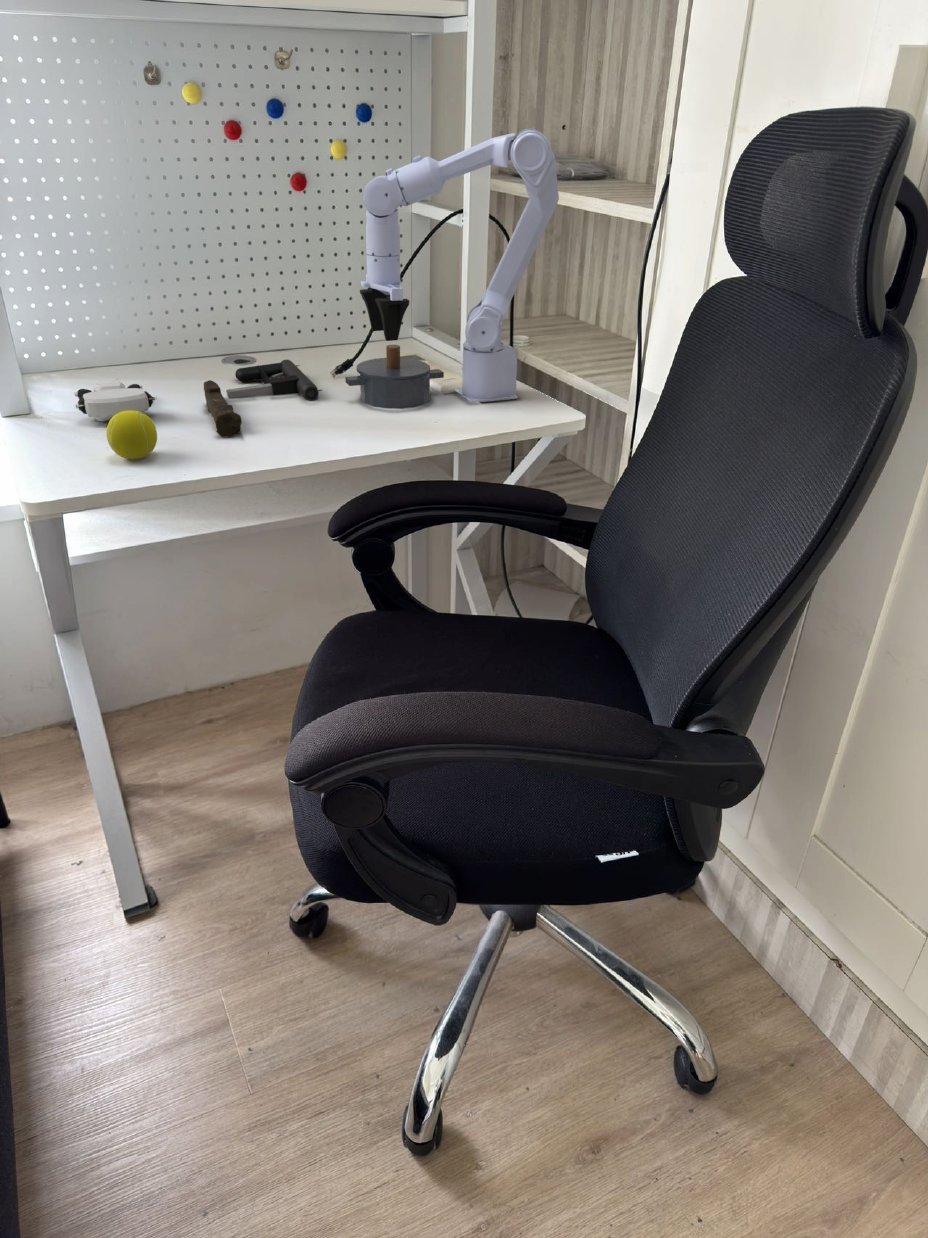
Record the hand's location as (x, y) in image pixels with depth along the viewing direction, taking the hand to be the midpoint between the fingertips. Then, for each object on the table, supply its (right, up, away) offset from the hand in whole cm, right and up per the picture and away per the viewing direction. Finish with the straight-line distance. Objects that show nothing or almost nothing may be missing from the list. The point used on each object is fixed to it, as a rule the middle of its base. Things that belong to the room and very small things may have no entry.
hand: (384, 335), depth 163 cm
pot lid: (+2, -7, -2) cm, 7 cm away
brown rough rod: (-27, -18, -11) cm, 34 cm away
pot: (+2, -12, +1) cm, 12 cm away
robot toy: (-45, -16, -9) cm, 48 cm away
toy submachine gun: (-22, -9, +4) cm, 24 cm away
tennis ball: (-35, -27, -27) cm, 51 cm away
